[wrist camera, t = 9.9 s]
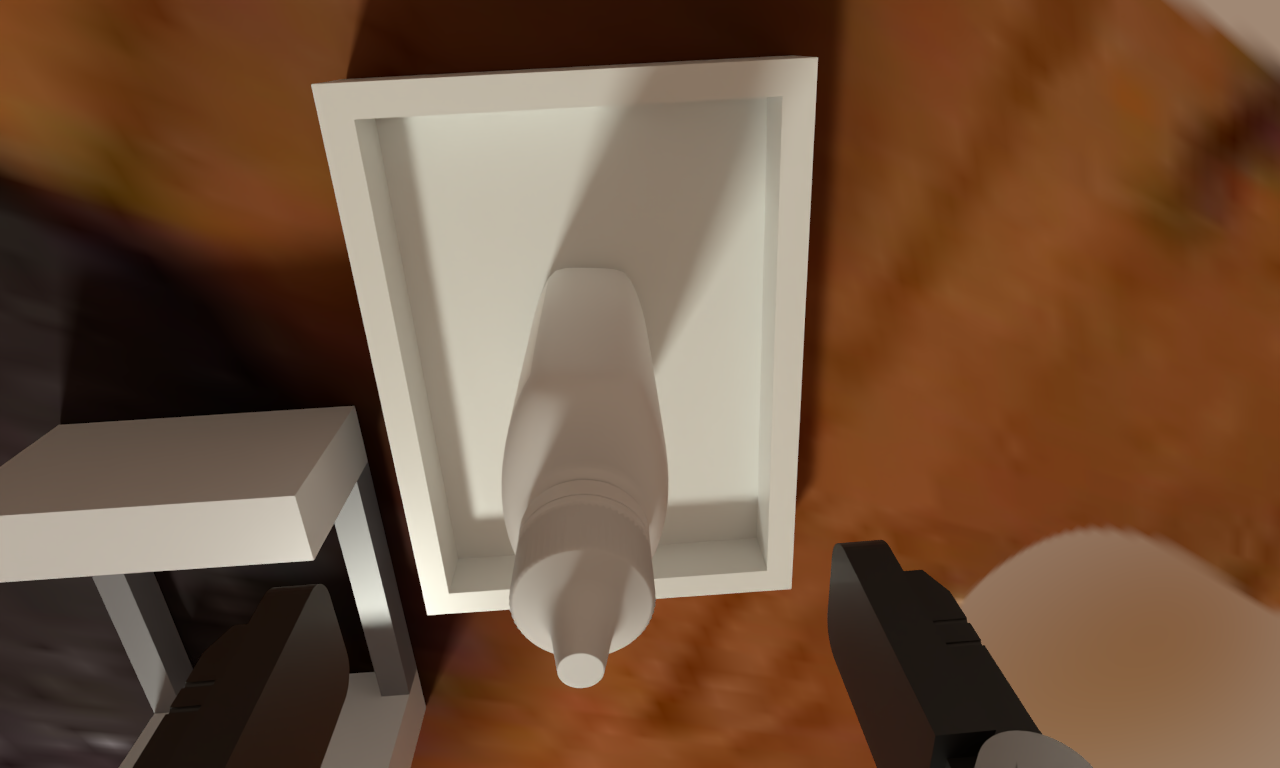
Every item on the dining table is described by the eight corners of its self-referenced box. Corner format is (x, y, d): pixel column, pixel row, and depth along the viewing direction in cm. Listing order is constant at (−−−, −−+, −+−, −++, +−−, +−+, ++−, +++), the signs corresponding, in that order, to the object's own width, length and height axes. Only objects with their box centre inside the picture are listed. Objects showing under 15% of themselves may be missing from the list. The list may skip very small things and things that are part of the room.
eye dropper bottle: (479, 397, 22) (365, 742, 11) (569, 236, 20) (537, 465, 9) (606, 458, 23) (613, 825, 12) (702, 312, 21) (811, 594, 10)
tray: (344, 78, 19) (311, 84, 17) (792, 55, 19) (818, 56, 17) (442, 564, 26) (427, 615, 23) (774, 541, 26) (791, 588, 24)
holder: (59, 425, 23) (-76, 520, 18) (354, 405, 23) (294, 495, 18) (188, 725, 28) (110, 856, 24) (425, 707, 28) (393, 833, 24)
